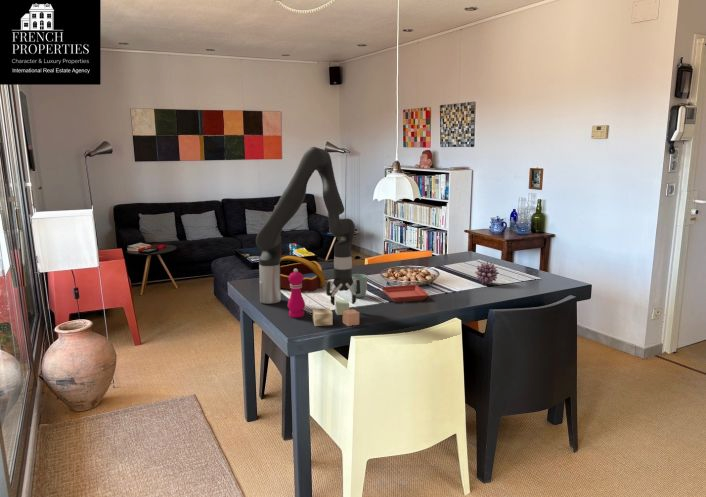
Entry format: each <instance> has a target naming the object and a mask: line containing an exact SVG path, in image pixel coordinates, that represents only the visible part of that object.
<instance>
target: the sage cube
mask: <svg viewBox="0 0 706 497" xmlns="http://www.w3.org/2000/svg"><path fill="white" fill-rule="evenodd" d="M334 306H335V307H334V308H335V309H334V310H335V314H336V315H337V316H343V311H344V310H350V303H349V301H348V300H347V299H337V300H335V305H334Z"/></svg>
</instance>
